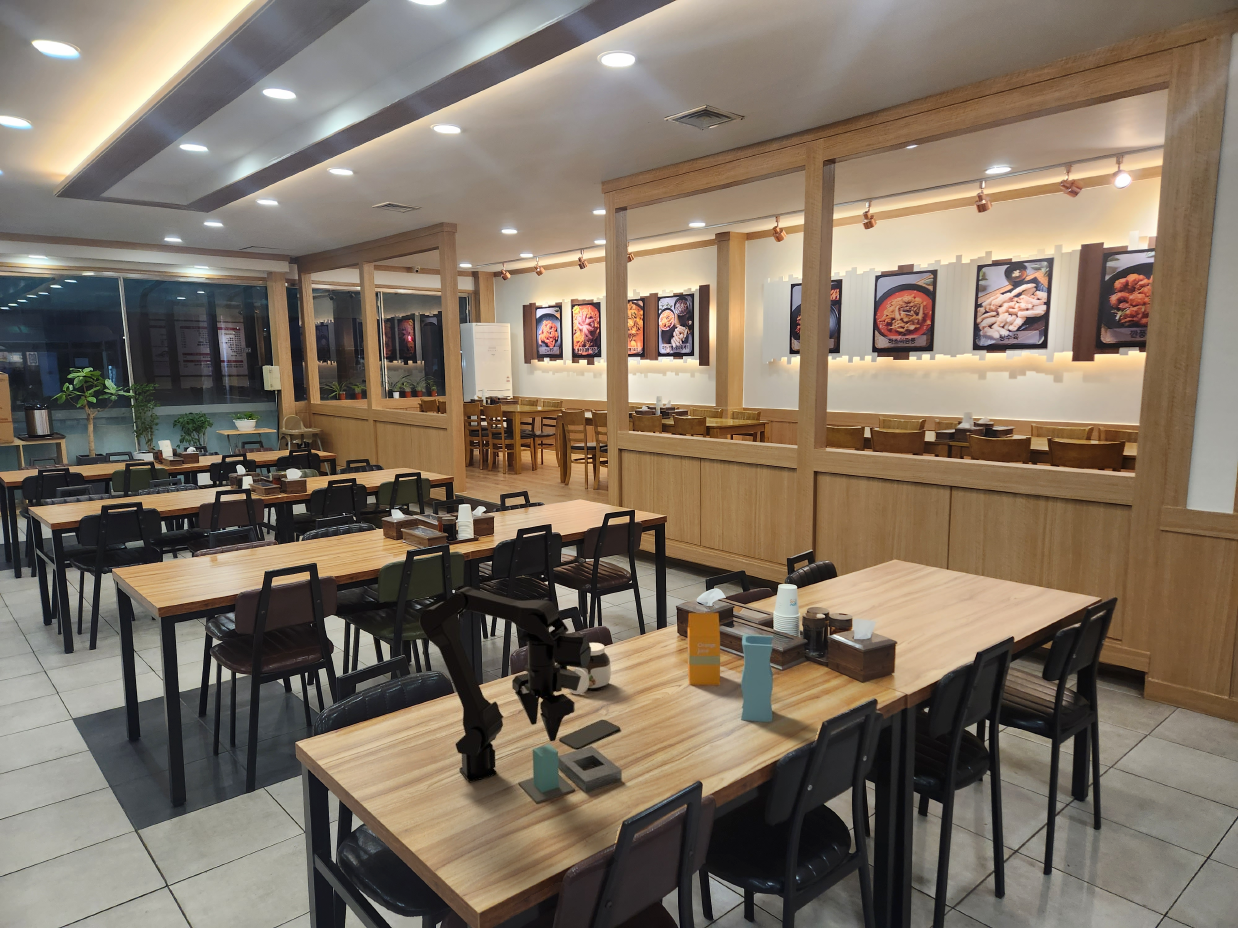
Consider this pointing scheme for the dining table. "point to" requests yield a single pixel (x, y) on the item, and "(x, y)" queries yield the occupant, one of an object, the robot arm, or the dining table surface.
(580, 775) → the gray rectangular frame
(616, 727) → the smartphone
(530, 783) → the dark gray square pad
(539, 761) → the teal square block
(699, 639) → the orange juice
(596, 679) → the spread jar
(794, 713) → the dining table surface
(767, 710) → the vase
